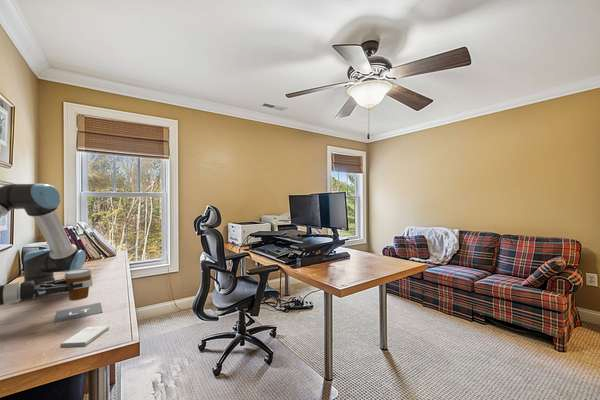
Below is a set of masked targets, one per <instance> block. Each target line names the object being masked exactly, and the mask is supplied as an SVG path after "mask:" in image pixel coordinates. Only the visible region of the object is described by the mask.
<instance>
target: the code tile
mask: <svg viewBox="0 0 600 400" xmlns="http://www.w3.org/2000/svg"><path fill="white" fill-rule="evenodd" d="M102 313H103V308H102V303H101V302H97V303H91V304H87V305H82V306H75V307H72V308H71V307H70V308H65V309H60V310H56V312H55V315H54V320H53V324H56V323H60V322H64V321H68V320H69V321H70V320H74V319H78V317H79V318H82V317H83V316H84V317H87V316H92V315H97V314H102Z"/></svg>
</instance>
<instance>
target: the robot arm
mask: <svg viewBox="0 0 600 400" xmlns="http://www.w3.org/2000/svg"><path fill="white" fill-rule="evenodd" d="M60 203H61V194H60V192H59V190H58V189H57V188H56V187H55V186H53V185H50V184H47V183H10V184H4V185H3V186H0V219H1V217H4V216H6V215H8V213H9V212H10V211H12V210H24V211H25V213H26V215H27V216H29V217H32V218H33V219H34V220H35V223H36V225H37V227H38V228H39V230H40V233H41V234H42V236H43V238H44V240H45V241H46V243H47V245H48V247H49V248H44V249H39V250H34V251H29V252H26V253H25V254H24V255H23V279H24V280H23V282H21V283H20V282H15V283H13V282H12V283H7V284H0V306H3V305H9V306H11V305H13V304H14V303H19V302H20V301H21V302H25V301H32V300H34V299H35V297H41V296H48V295H53V294H60V293H62V294H63V293H68V292H73V289H79V288H84V287H89V288H90V287H93V278H92V277H93V276H92V274H91V276H90V280H87V281H80V282H74V283H73V284H67V283H66V278H65V277H64V278H58V279H55V276H54V275H55V274H54V273H66V272H68V271H71V270H75V269H83V267H84V265H85V262H86V258H87V257H86V256H87V255H86V251H85V250H83V249H78V247H77V245H75V244H73V243H72V242H71V241H70V238H69V236H68V234H67V232H66V230H65V227H64V226H63V223H62V221H61V218H60V216H59V215H58V213H57V209H58V207H59V205H60Z"/></svg>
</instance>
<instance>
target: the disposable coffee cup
mask: <svg viewBox="0 0 600 400" xmlns="http://www.w3.org/2000/svg"><path fill="white" fill-rule="evenodd" d="M92 273H93V272H92V270H91V268H86V267H85V268H81V269H75V270H71V271H68V272H64V276H63V277H64V278H66V283H67V284H73V283H74V282H80V281H87V280H90V276H91V275H92ZM89 290H90V287H84V288H79V289H73V292H67V294H68V298H69V299H68V300H69V301H79V300H84V299H86V298H88V296H89Z"/></svg>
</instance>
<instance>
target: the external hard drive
mask: <svg viewBox="0 0 600 400" xmlns="http://www.w3.org/2000/svg"><path fill="white" fill-rule="evenodd" d="M109 329H110V326H109V325H98V326H96V325H95V326H87V327H85V328H83V329H82V330H79V332H77V333H76V334H74V335H72V336H70V337H69V338H67V339H66V340H64V341H63V342H61V343H60V346H59V347H61V348H62V347H63V348H64V347H81V346H83V347H84V346H88V345H89V344H90V343H92V342H93V341H94V340H96V339H97V338H98V337H99V336H101V335H102V334H104V333H105V332H107V331H108V330H109Z"/></svg>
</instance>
